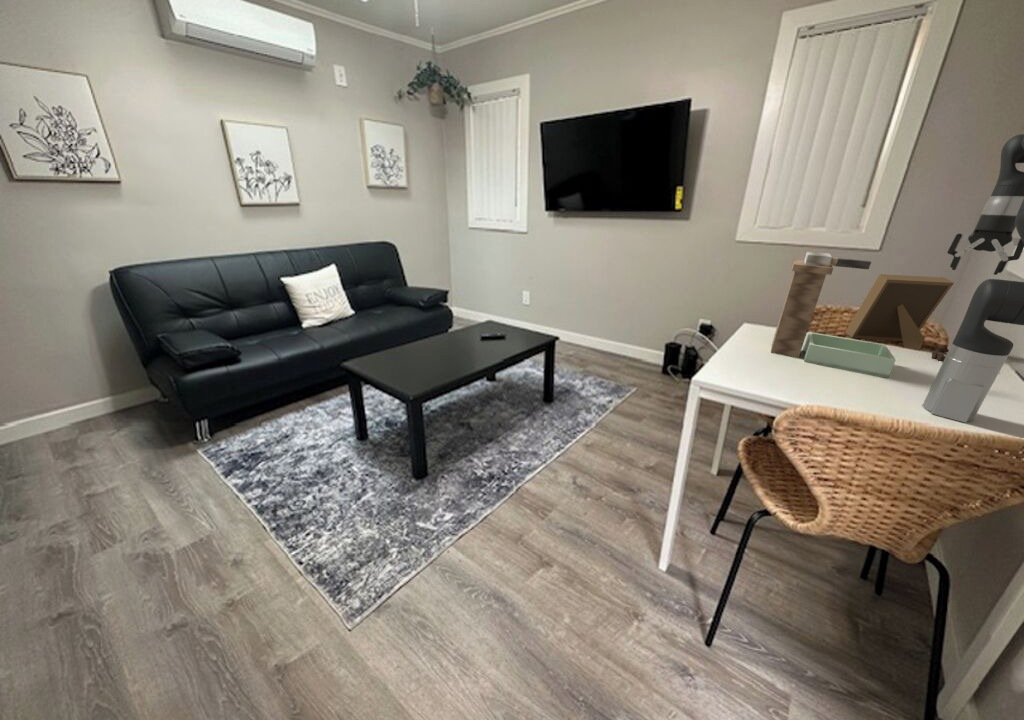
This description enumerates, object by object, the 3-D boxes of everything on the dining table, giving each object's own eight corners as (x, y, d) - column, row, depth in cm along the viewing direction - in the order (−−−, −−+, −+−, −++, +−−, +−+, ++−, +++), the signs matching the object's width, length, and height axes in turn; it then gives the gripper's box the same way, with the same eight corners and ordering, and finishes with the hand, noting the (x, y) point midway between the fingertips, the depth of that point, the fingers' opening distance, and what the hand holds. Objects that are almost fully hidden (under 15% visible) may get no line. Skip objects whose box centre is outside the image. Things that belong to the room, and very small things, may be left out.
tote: (878, 361, 133) (885, 344, 131) (887, 378, 121) (895, 359, 118) (802, 347, 143) (808, 331, 141) (804, 361, 131) (810, 344, 129)
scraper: (865, 266, 125) (868, 257, 124) (870, 271, 118) (874, 260, 116) (804, 261, 133) (806, 251, 132) (805, 264, 125) (808, 254, 124)
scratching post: (801, 348, 143) (829, 262, 131) (802, 360, 132) (833, 268, 120) (768, 342, 148) (793, 259, 136) (767, 353, 137) (793, 264, 125)
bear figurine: (914, 343, 144) (957, 341, 143) (910, 354, 146) (952, 352, 145) (964, 362, 127) (1013, 360, 126) (959, 375, 129) (1007, 373, 128)
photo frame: (844, 334, 160) (868, 271, 150) (902, 337, 158) (931, 274, 148) (871, 347, 147) (899, 279, 137) (935, 352, 145) (968, 283, 135)
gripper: (963, 212, 116) (938, 269, 122) (1040, 215, 106) (1009, 277, 112) (966, 213, 121) (942, 267, 126) (1040, 215, 110) (1011, 275, 116)
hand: (974, 272), depth 119 cm, fingers open, 8 cm apart
